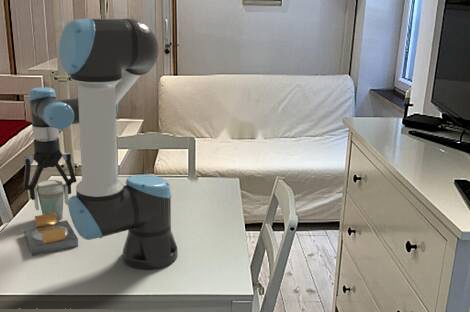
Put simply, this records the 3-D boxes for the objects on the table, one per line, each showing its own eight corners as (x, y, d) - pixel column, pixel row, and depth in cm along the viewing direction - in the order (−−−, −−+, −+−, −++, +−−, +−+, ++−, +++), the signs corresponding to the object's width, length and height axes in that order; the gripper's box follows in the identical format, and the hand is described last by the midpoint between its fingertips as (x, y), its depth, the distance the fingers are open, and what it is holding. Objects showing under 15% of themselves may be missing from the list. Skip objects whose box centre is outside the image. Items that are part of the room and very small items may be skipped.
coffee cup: (58, 225, 163) (55, 189, 159) (33, 222, 165) (30, 187, 161) (71, 214, 171) (69, 180, 167) (48, 212, 173) (45, 178, 169)
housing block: (78, 246, 150) (77, 227, 148) (32, 255, 144) (30, 236, 142) (67, 227, 162) (66, 209, 160) (24, 235, 156) (22, 217, 154)
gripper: (78, 131, 168) (82, 196, 175) (7, 138, 158) (14, 207, 165) (84, 137, 162) (88, 204, 168) (10, 145, 152) (18, 216, 158)
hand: (52, 205), depth 167 cm, fingers closed on coffee cup, 8 cm apart
